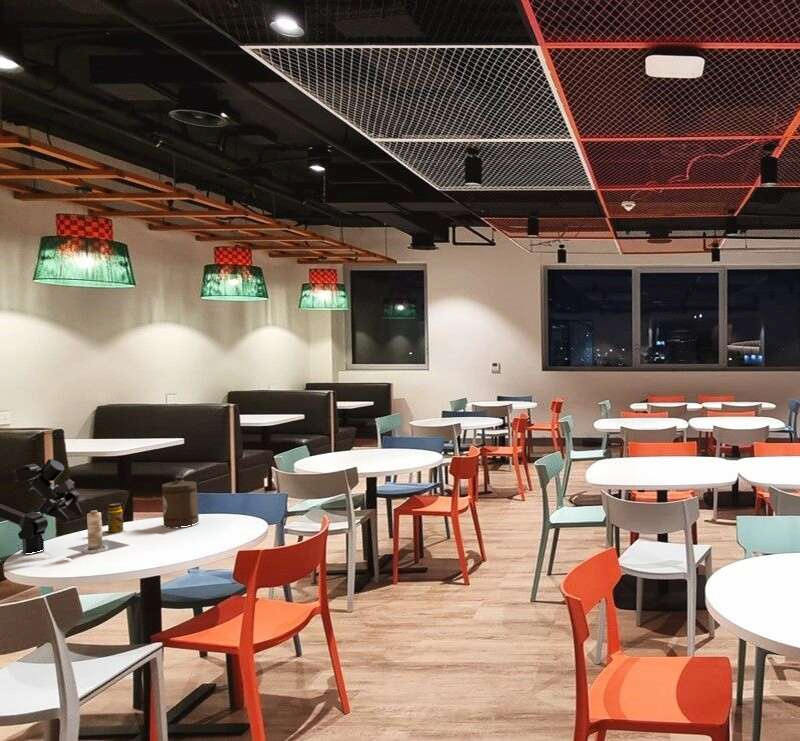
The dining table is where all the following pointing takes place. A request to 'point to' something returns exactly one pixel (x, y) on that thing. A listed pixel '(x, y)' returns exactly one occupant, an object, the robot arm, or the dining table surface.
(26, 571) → the dining table surface
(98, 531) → the beige wooden pepper mill
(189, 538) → the dining table surface
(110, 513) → the condiment
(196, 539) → the dining table surface
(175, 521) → the wooden container
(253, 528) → the dining table surface
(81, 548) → the baseplate
